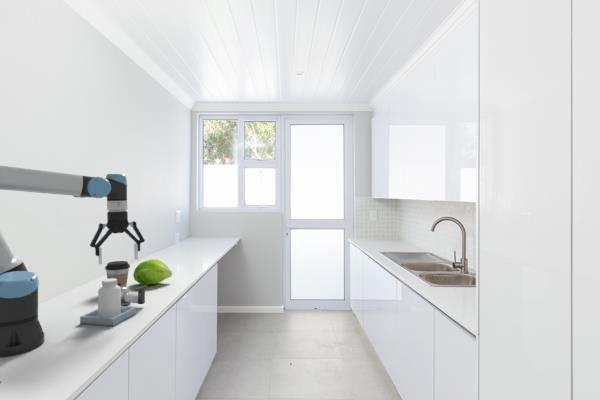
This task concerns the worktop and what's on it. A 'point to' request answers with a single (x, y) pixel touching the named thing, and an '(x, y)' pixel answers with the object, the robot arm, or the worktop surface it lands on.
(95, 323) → the tray
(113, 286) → the pill bottle
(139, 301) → the crank
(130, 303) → the crank base
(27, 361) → the worktop surface
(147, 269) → the lettuce
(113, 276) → the coffee cup
